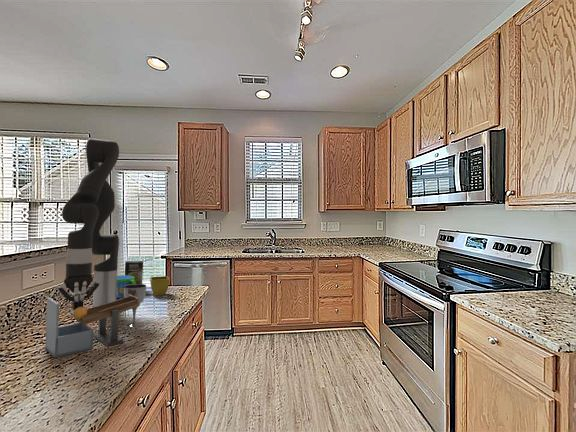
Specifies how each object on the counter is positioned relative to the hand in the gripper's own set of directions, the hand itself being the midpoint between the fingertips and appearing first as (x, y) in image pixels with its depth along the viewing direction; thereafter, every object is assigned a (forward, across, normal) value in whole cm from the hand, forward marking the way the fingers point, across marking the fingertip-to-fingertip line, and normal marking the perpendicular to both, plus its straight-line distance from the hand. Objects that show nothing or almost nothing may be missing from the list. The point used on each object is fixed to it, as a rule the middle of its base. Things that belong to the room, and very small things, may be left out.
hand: (77, 311), depth 115 cm
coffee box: (+9, -44, -55) cm, 71 cm away
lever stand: (+9, -7, +8) cm, 14 cm away
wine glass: (+9, -20, -1) cm, 22 cm away
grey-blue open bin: (+9, +4, +8) cm, 13 cm away
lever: (0, -7, +4) cm, 8 cm away
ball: (-2, +2, +8) cm, 8 cm away
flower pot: (+9, -50, -38) cm, 64 cm away
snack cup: (+9, -34, -45) cm, 57 cm away
